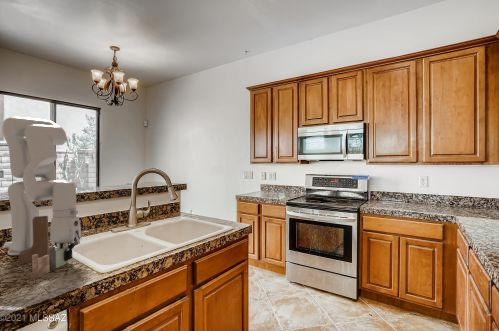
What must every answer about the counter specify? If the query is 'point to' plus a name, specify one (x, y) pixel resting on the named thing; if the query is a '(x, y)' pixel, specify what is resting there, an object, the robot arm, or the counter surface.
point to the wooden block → (37, 240)
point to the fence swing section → (60, 257)
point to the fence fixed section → (43, 263)
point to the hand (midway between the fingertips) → (65, 259)
